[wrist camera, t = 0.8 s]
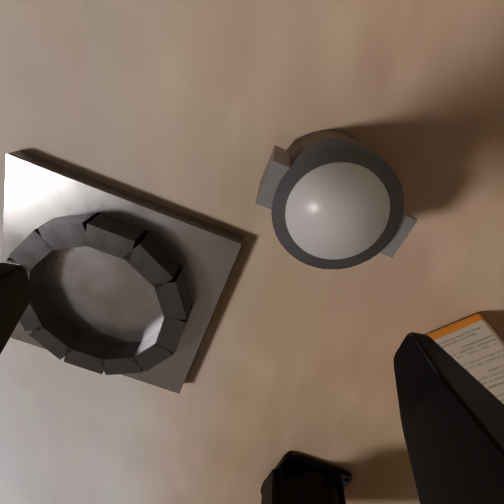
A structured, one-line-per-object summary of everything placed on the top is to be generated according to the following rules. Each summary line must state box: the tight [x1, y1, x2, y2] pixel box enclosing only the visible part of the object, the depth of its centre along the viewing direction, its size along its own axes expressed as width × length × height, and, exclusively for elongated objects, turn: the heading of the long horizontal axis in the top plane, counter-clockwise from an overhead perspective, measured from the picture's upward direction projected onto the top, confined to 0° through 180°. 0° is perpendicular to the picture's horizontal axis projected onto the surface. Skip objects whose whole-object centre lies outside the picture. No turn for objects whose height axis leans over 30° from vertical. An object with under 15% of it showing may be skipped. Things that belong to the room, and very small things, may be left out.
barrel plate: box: [2, 151, 243, 393], centre depth 22 cm, size 14×14×3 cm
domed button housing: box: [256, 130, 417, 269], centre depth 17 cm, size 7×6×5 cm
